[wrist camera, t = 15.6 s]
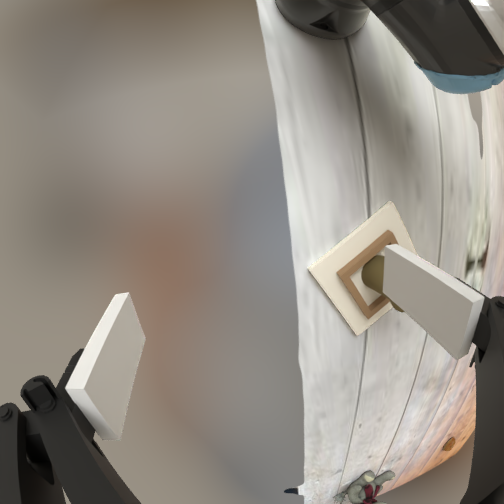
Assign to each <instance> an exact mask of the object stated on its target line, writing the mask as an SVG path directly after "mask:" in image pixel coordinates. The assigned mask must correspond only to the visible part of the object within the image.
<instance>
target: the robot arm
mask: <svg viewBox="0 0 504 504" xmlns="http://www.w3.org/2000/svg"><path fill="white" fill-rule="evenodd" d="M275 1H276V4H277V7H278V8H279V10H280V12H281V13H282V14H283V16H284V17H285V18H286V19H287V20H288V21H289V22H290V23H292V24H293V25H294V26H296V27H297V28H299V29H300V30H302V31H304V32H306V33H308V34H311V35H313V36H317V37H320V38H326V39H341V38H345V37H348V36H350V35H352V34H354V33H355V32H356V31H358V30H359V29H360V28H361V27H362V26H363V25H364V24H365V22H366V20H367V17H368V15H369V12H370V10H371V11H372V12H373V13H374V14H375V15H376V16H377V17H378V18H379V19H380V20H381V21H382V23H383V24H384V25H385V26H386V27H387V28H388V29H389V30H390V32H391V33H392V34H393V35H394V36H395V37H396V39H397V40H398V41H399V42H400V43H401V45H402V46H403V47H404V48H405V50H406V51H407V52H408V54H409V55H410V56H411V57H412V59H413V60H414V63H415V65H416V66H417V67H418V68H419V69H421V70H422V71H423V73H424V74H425V75H426V76H427V78H428V79H429V80H430V82H431V83H432V84H433V85H434V86H435V87H436V88H438V89H440V90H443V91H444V92H448V93H453V94H468V93H475V92H480V91H484V90H487V89H489V88H491V87H492V85H498V84H499V83H500V82H502V81H503V79H504V0H275ZM383 293H384V294H385V295H386V296H388V297H389V298H390V299H391V300H392V301H393V302H394V303H396V304H397V305H398V306H399V307H400V308H401V309H402V310H403V311H404V312H406V313H407V314H408V315H409V316H410V317H411V318H412V319H413V320H414V321H415V322H417V323H418V324H419V325H420V326H421V327H422V328H423V329H424V330H425V331H426V332H427V333H428V334H429V335H431V336H432V337H433V338H434V339H435V340H436V341H437V342H438V343H439V344H440V345H441V346H442V347H443V348H444V349H445V350H446V351H447V352H448V353H449V354H450V355H451V356H452V357H453V358H455V359H456V360H458V359H460V358H461V357H463V356H465V355H467V354H468V352H469V349H470V347H471V344H472V342H473V343H474V344H475V345H476V349H475V352H474V355H473V357H472V360H471V363H470V366H469V367H472V365H473V363H474V362H475V369H476V426H475V440H474V450H473V459H472V467H471V473H470V479H469V485H468V489H467V491H466V493H465V495H464V497H463V498H462V500H461V502H460V504H504V297H501V296H496V297H493V298H492V299H490V298H488V297H486V296H485V295H483V294H482V293H480V292H479V291H477V290H476V289H474V288H471V286H469V285H468V284H465V282H463V281H462V280H460V279H458V278H456V277H453V276H451V275H449V274H448V273H446V272H444V271H443V270H441V269H439V268H438V267H436V266H434V265H433V264H431V263H429V262H428V261H426V260H424V259H422V258H421V257H419V256H417V255H415V254H414V253H412V252H410V251H408V250H407V249H405V248H403V247H401V246H399V245H398V244H392V245H387V246H385V258H384V279H383ZM145 339H146V338H145V336H144V333H143V330H142V328H141V325H140V322H139V319H138V317H137V314H136V311H135V308H134V305H133V302H132V300H131V296H130V293H129V292H128V293H122V294H116V295H115V296H114V298H113V300H112V301H111V303H110V305H109V306H108V308H107V310H106V311H105V313H104V315H103V317H102V318H101V320H100V322H99V324H98V325H97V327H96V329H95V331H94V333H93V335H92V336H91V338H90V340H89V342H88V344H87V346H86V348H85V349H80V350H79V351H78V352H77V353H76V354H75V355H73V357H72V358H71V360H70V362H69V364H68V366H67V368H66V370H65V373H63V375H62V378H61V379H60V381H59V383H58V385H57V387H56V388H55V387H54V385H53V383H52V382H51V380H50V379H49V378H48V377H47V376H44V375H42V376H36V377H33V378H32V379H30V380H29V381H27V382H26V383H25V384H24V385H23V387H22V389H21V397H22V398H23V400H24V401H25V403H26V404H27V405H28V407H29V408H30V409H31V410H29V411H25V412H21V411H20V410H19V408H18V407H17V406H16V405H15V404H13V403H6V404H4V405H2V406H0V504H66V502H65V498H64V493H63V489H64V491H65V493H66V495H67V497H68V499H69V501H70V502H71V504H141V503H140V501H139V500H138V499H137V498H136V497H135V496H134V494H133V493H132V492H131V491H130V489H129V488H128V487H127V486H126V484H125V483H124V482H123V480H122V479H121V478H120V476H119V475H118V474H117V472H116V471H115V469H114V468H113V467H112V465H111V464H110V463H109V461H108V459H107V458H106V457H105V455H104V454H103V452H102V450H101V449H100V447H99V446H98V444H97V443H96V442H95V441H94V439H93V437H94V433H95V431H96V432H97V434H98V435H99V436H100V437H101V438H102V440H116V441H120V440H121V435H122V430H123V426H124V421H125V417H126V412H127V408H128V404H129V400H130V395H131V391H132V387H133V383H134V379H135V375H136V372H137V368H138V364H139V360H140V357H141V353H142V350H143V346H144V343H145ZM62 487H63V489H62Z"/></svg>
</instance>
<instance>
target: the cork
mask: <svg viewBox="0 0 504 504" xmlns="http://www.w3.org/2000/svg"><path fill="white" fill-rule="evenodd" d="M384 258H385V256H383V255H376V256H374V257H373V258H371V259H370V260H369V261H368V262H367V263H365V265H364V267H363V269H362V272H361V278H362V281H363V283H364V284H365V285H366V286H367V287H369V288H371V289H372V290H374V291H376V292H378V293H379V294H381V295H383V296H384V297H386V298H388V299H389V300H390V303H391V304H392V306H393V307H394V308H395V309H396V310H398V311H400V312H404V311H403V310H402V309H401V308H400V307H399V306H398V305H397V304H396V303H394V302H393V301H392V300H391V299H390V298H389V297H388V296H386V295H385V294H384V293H383V279H384Z"/></svg>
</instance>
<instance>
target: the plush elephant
mask: <svg viewBox="0 0 504 504" xmlns="http://www.w3.org/2000/svg"><path fill="white" fill-rule="evenodd" d="M394 478H395V473H394V472H392V471H387V472H384V473H383V474H381V475H379V476H378V477H376V478H375V475H374V473H373V472H372V471H367V472H365V473H364V474H363V475H362V476H361V477H360V478H359V479H357V480H356V481H355V482H353V483H352V484H351V485H350V487H349V488H348V489H347V491H345V492H342V493H341V494H338V495H336V496H335V497H333V498H337V499H336V500H335V501H336V503H337V502H339V501H340V502H341V503H340V504H342V502H343V500H344V498H345V495H346V494H347V493H348V497H349V500H350V502H351V503H352V504H387V503H385V502H377V500H375V499H373V498H374V497H376V495H377V494H378V493H379V492H380V491H381V490H382V488H383V486H382V484H383V483H384V482H385V481H388V480H393V479H394Z"/></svg>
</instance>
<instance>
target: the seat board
mask: <svg viewBox="0 0 504 504" xmlns="http://www.w3.org/2000/svg"><path fill="white" fill-rule="evenodd" d="M392 244H398V245H399V246H401V247H403V248H405V249H407V250H408V251H410V252H412V253H414V254H415V255H417V253H416V251H415V248H414V246H413V244H412V241H411V239H410V237H409V235H408V232H407V230H406V228H405V226H404V224H403V222H402V219H401V217H400V215H399V213H398V211H397V209H396V207H395V205H394V203H393V202H391V201H389V202H387V203H386V204H385V205H384V206H383V207H382V208H380V209H379V210H378V211H377V212H376V213H374V214H373V215H372V216H371V217H370V218H369V219H367V220H366V221H365V222H364V223H363V224H361V225H360V226H359V227H358V228H357V229H355V230H354V231H353V232H352V233H350V234H349V235H348V236H347V237H346V238H344V239H343V240H342V241H341V242H339V243H338V244H337V245H336V246H334V247H333V248H332V249H331V250H329V251H328V252H327V253H326V254H324V255H323V256H322V257H321V258H319V259H318V260H317V261H316V262H314V263H313V264H312V265H311V266H309V267H308V270H309V271H310V272H311V274H312V275H313V276H314V278H315V279H316V280H317V282H318V283H319V284H320V286H321V287H322V288H323V290H324V291H325V292H326V294H327V295H328V297H329V298H330V299H331V301H332V302H333V303H334V305H335V306H336V308H337V309H338V310H339V312H340V313H341V314H342V316H343V317H344V319H345V320H346V321H347V323H348V324H349V326H350V327H351V328H352V330H353V331H354V333H355V334H356V335H357V336H358V335H360V334H361V333H362V332H363V331H365V330H366V329H367V328H368V327H370V326H371V325H372V324H373V323H375V322H376V321H377V320H378V319H379V318H381V317H382V316H383V315H384V314H385V313H387V312H388V311H389V310H390V309H391V308H392V307H393V306H392V304H391V303H390V300H389V299H388V298H386V297H384V296H383V295H381V294H379V293H378V292H376V291H374V290H372V289H371V288H369V287H367V286H366V285H365V284H364V283H363V281H362V278H361V272H362V269H363V267H364V265H365V263H367V262H368V261H369V260H370V259H371V258H373V257H374V256H376V255H383V256H385V246H387V245H392ZM417 256H418V255H417Z"/></svg>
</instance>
